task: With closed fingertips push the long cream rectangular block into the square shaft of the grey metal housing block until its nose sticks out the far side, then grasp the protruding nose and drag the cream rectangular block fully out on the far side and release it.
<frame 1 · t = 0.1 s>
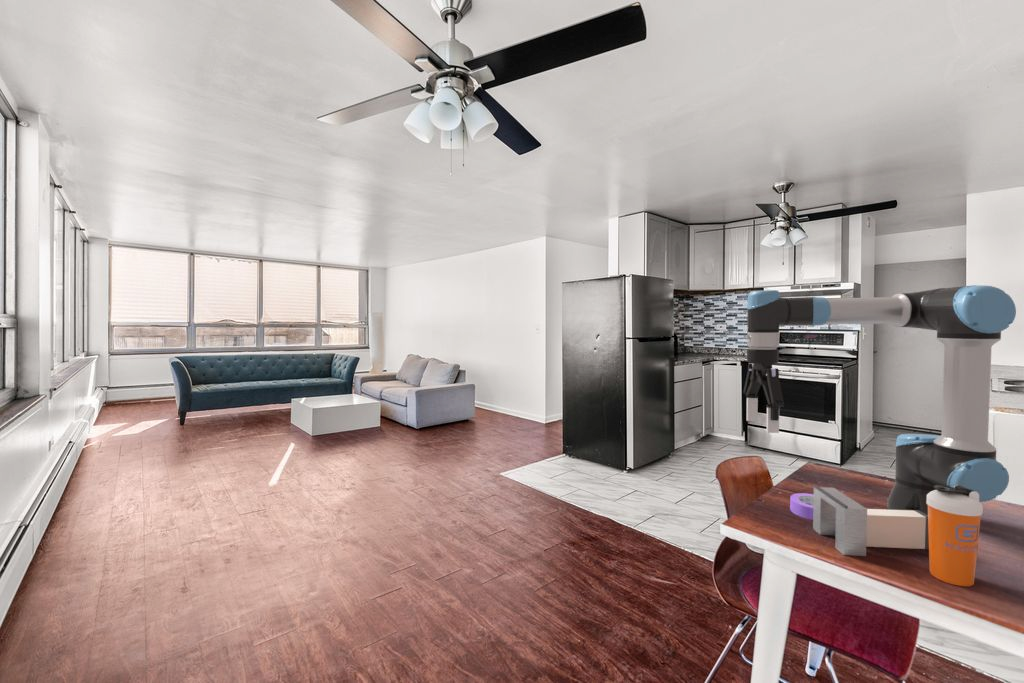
hand: (761, 426, 125), 28 cm above the table, fingers open, 13 cm apart
masking tape: (813, 514, 135), on the table
cream rectangular block: (889, 543, 116), on the table
housing: (837, 541, 118), on the table
shaker bottle: (951, 578, 101), on the table
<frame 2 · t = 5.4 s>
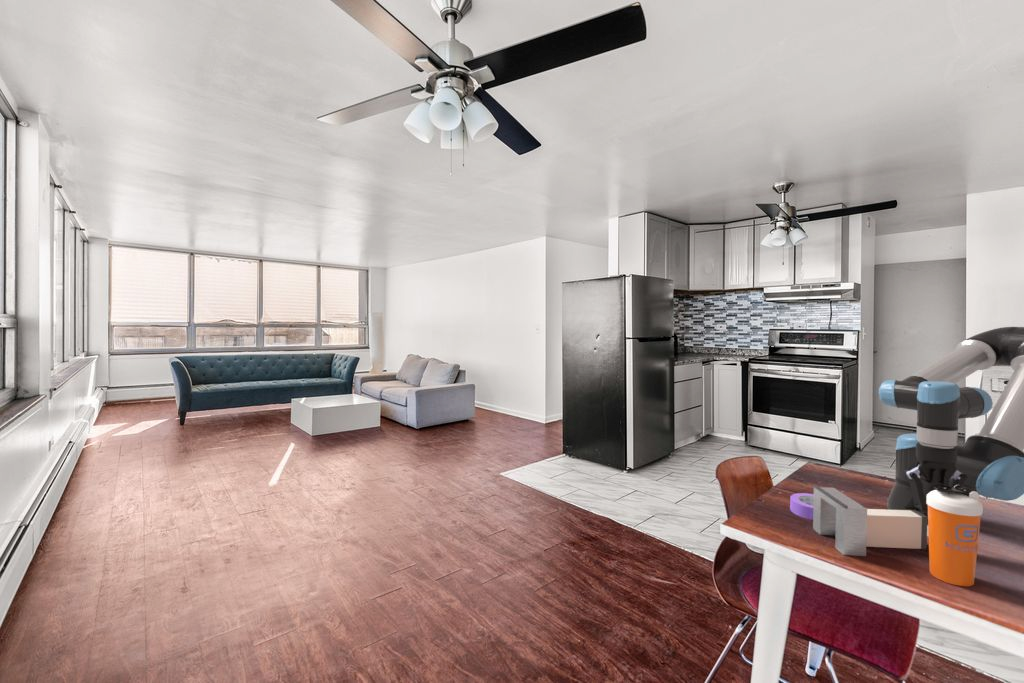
hand: (933, 537, 115), 2 cm above the table, fingers closed
cream rectangular block: (885, 543, 116), on the table, touching gripper
everything else where it was.
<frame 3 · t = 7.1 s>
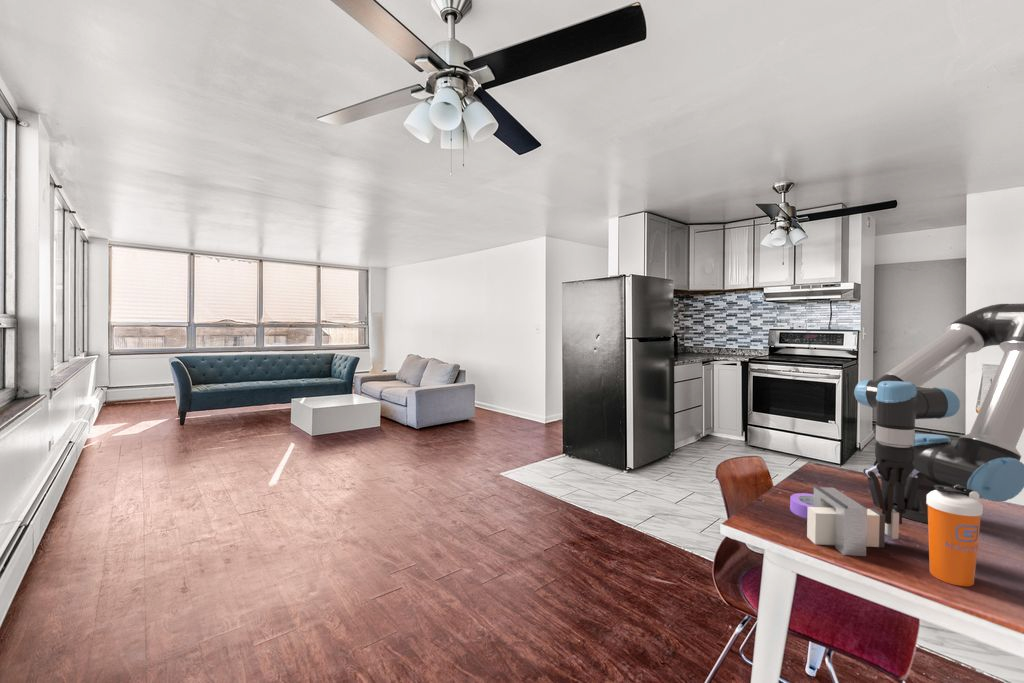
hand: (891, 535, 116), 2 cm above the table, fingers closed
cream rectangular block: (844, 541, 118), on the table, touching gripper
everything else where it was.
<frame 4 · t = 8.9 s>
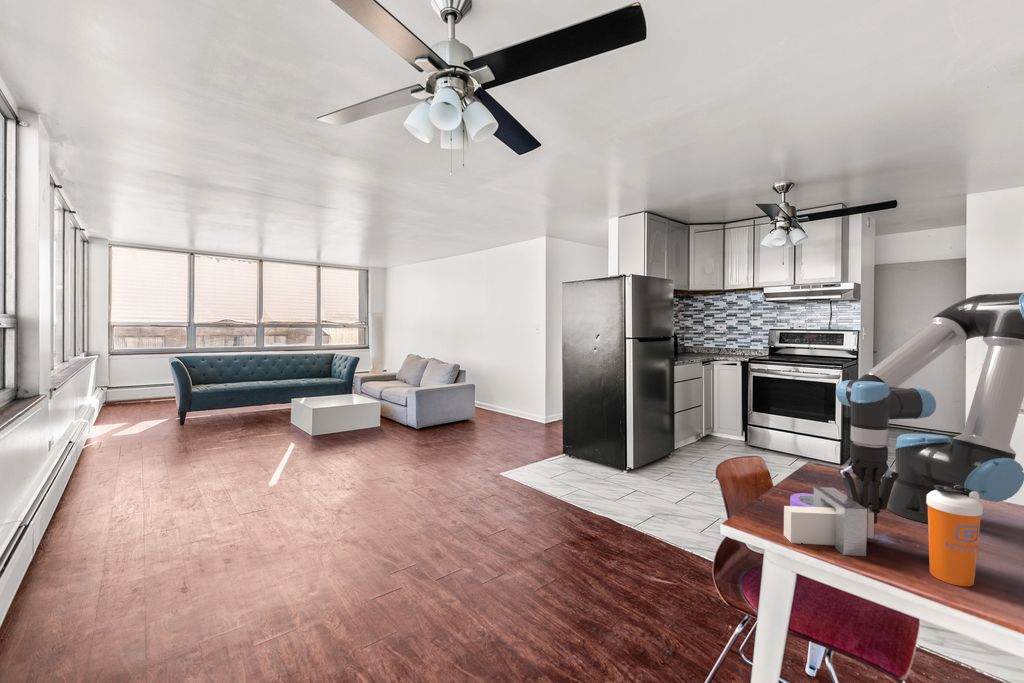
hand: (867, 535, 117), 2 cm above the table, fingers closed
cream rectangular block: (820, 540, 118), on the table, touching gripper
everything else where it was.
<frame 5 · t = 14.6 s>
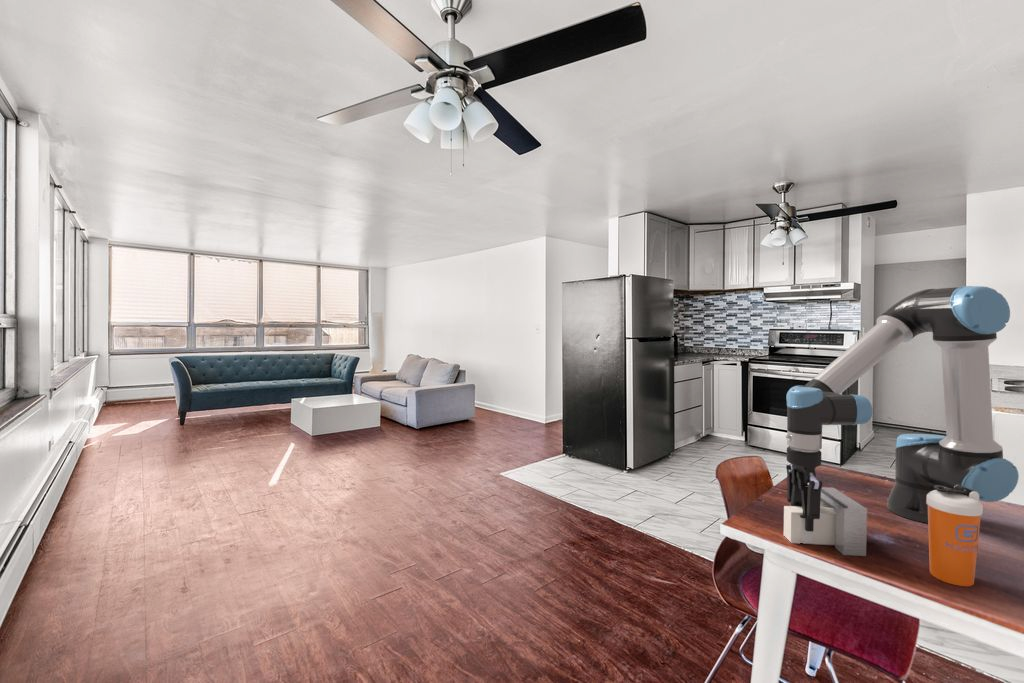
hand: (802, 537, 119), 1 cm above the table, fingers closed on cream rectangular block, 4 cm apart
cream rectangular block: (820, 540, 118), on the table, touching gripper
everything else where it was.
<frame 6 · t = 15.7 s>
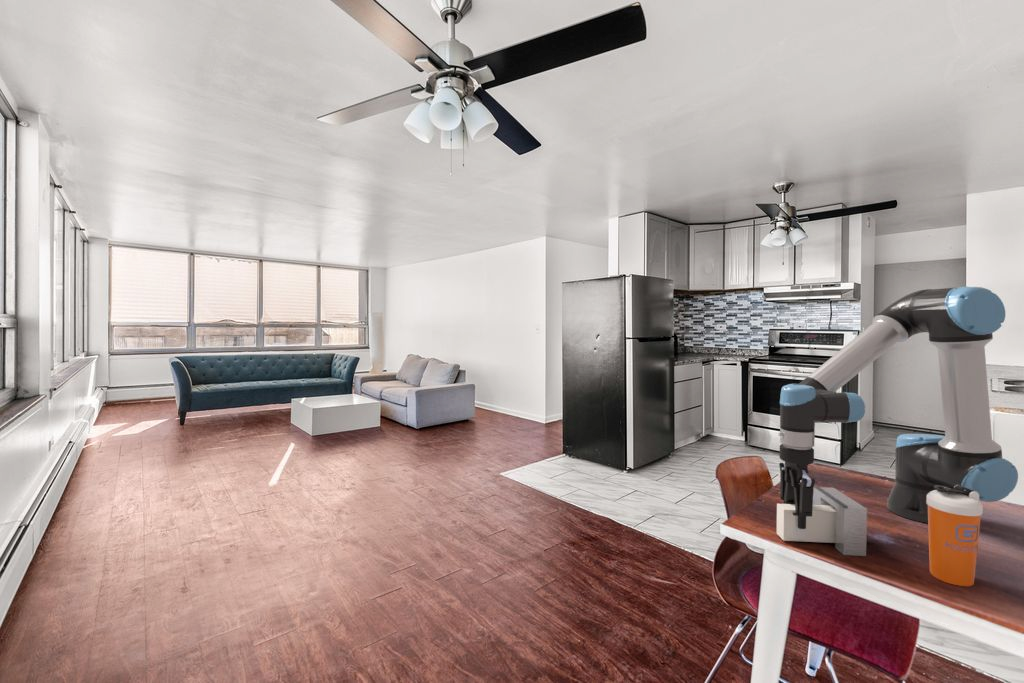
hand: (794, 535, 119), 1 cm above the table, fingers closed on cream rectangular block, 4 cm apart
cream rectangular block: (813, 538, 119), point 1 cm above the table, touching gripper
everything else where it was.
when the fingers open (1 cm above the table, at t = 17.3 s): cream rectangular block stays where it is, on the table.
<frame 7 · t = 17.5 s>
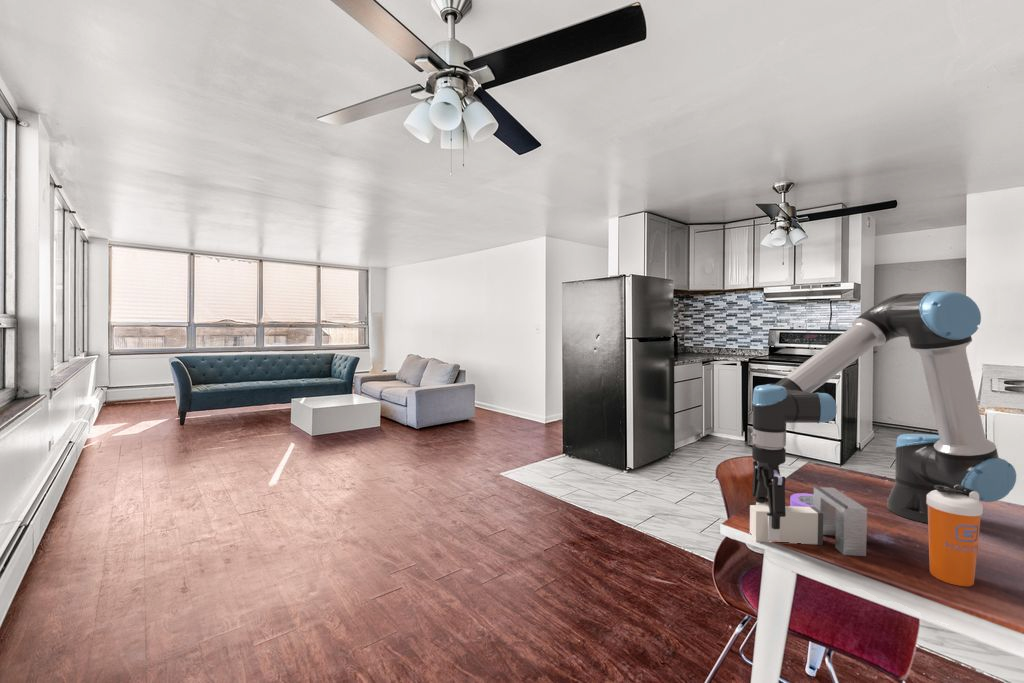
hand: (767, 533, 120), 1 cm above the table, fingers open, 7 cm apart
cream rectangular block: (785, 539, 119), on the table
everything else where it was.
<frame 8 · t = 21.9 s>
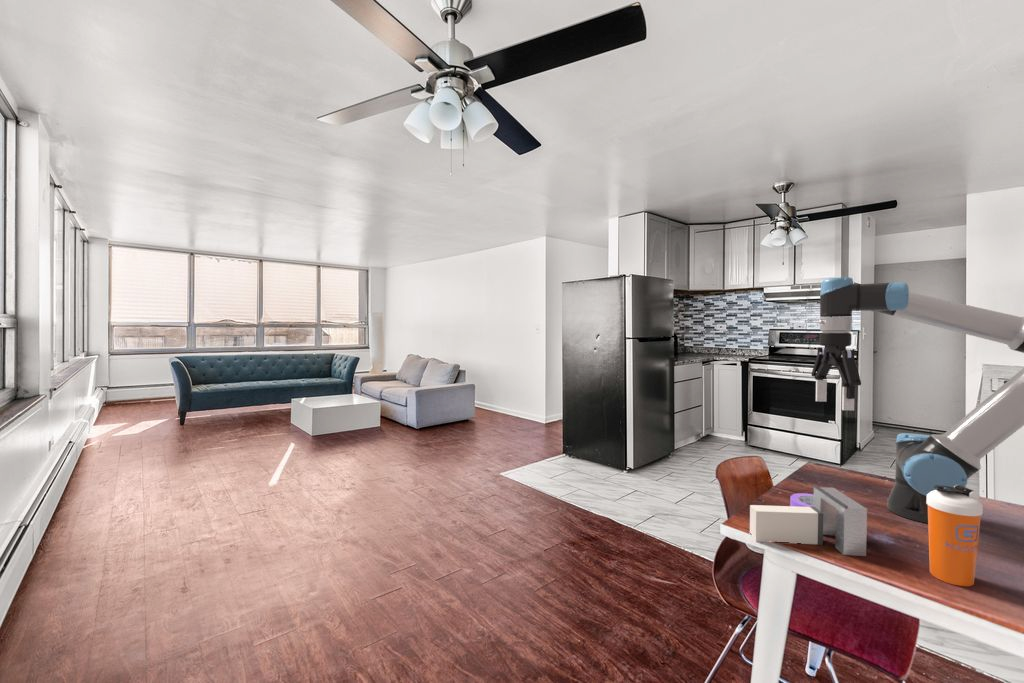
hand: (833, 405, 133), 32 cm above the table, fingers open, 13 cm apart
nothing on the table moved.
at the end: cream rectangular block inside the target area (4.4 cm from its centre), on the table; the gripper is holding nothing; cream rectangular block tilted 0° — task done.
